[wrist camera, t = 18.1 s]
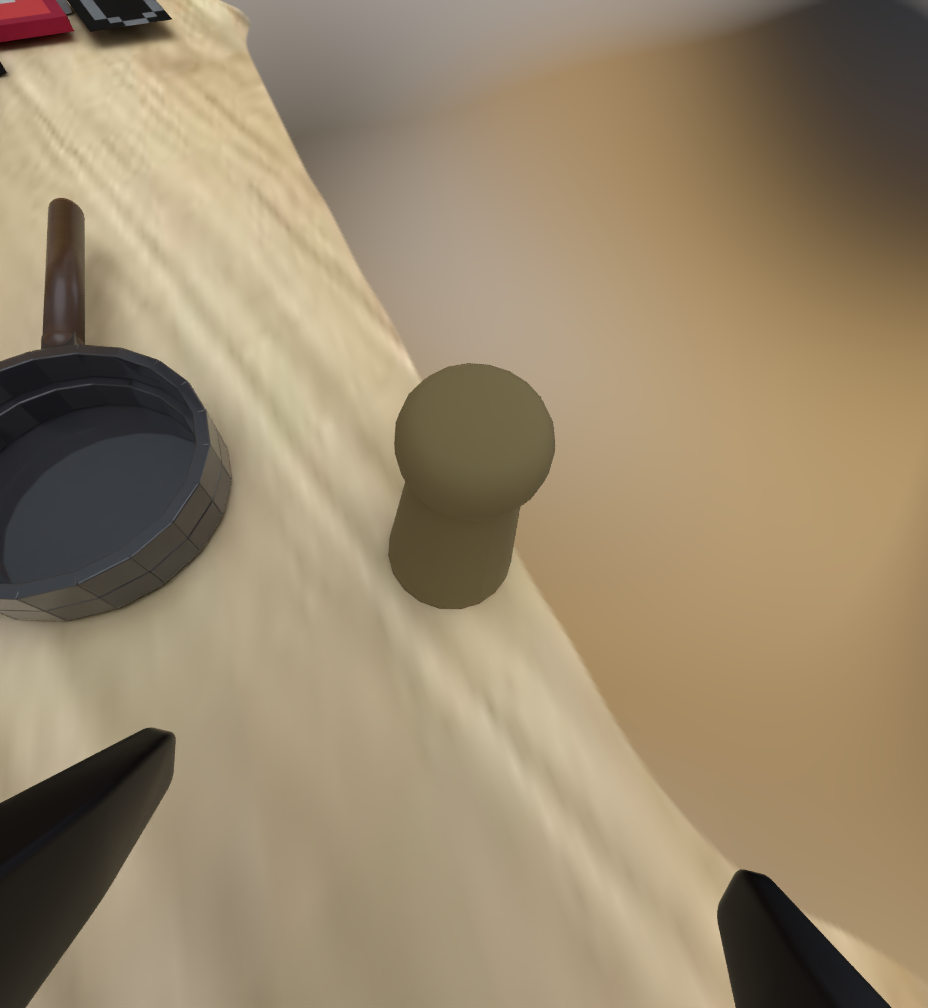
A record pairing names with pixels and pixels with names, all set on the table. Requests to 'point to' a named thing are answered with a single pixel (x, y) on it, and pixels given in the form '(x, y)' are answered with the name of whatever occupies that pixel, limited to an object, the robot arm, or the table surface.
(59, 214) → the pan handle
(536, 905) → the table surface
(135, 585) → the pan
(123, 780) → the robot arm
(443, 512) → the cork
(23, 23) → the red board with handle
